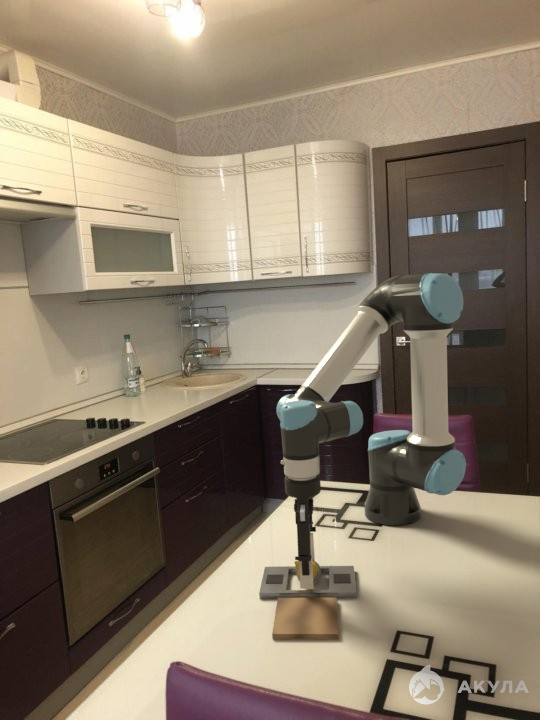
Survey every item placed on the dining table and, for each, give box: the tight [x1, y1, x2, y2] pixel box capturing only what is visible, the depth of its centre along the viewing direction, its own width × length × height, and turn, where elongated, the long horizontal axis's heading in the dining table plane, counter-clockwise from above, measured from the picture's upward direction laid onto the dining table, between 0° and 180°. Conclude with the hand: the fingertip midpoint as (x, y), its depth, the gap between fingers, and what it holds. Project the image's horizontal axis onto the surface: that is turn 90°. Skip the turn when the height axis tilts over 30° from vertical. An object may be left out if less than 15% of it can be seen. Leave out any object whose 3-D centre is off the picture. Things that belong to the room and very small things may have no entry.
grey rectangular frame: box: [258, 565, 357, 599], centre depth 121 cm, size 20×11×1 cm, turn 84°
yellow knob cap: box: [293, 560, 322, 584], centre depth 121 cm, size 5×5×10 cm
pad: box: [271, 598, 339, 640], centre depth 108 cm, size 12×12×1 cm
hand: (307, 573), depth 121 cm, fingers open, 10 cm apart
